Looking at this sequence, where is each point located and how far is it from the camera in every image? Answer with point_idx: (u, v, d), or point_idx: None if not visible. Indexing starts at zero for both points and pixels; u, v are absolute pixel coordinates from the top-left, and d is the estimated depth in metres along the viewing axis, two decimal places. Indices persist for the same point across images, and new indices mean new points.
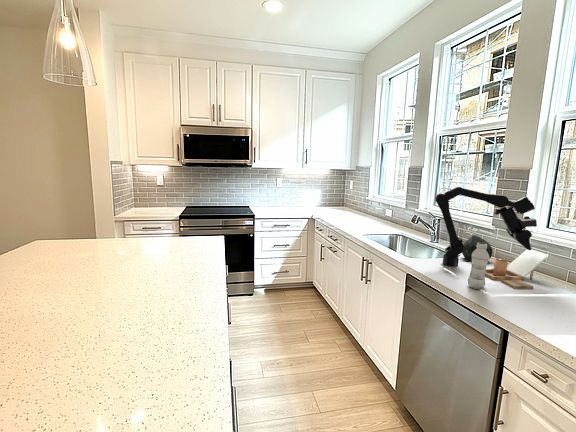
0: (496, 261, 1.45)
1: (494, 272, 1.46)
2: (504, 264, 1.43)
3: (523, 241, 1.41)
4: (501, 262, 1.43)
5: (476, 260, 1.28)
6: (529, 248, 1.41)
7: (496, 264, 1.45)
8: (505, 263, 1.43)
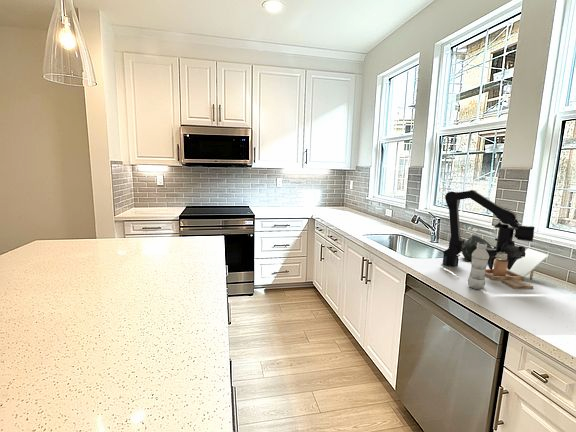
0: (496, 261, 1.45)
1: (494, 272, 1.46)
2: (504, 264, 1.43)
3: None
4: (501, 262, 1.43)
5: (476, 260, 1.28)
6: (490, 267, 1.45)
7: (496, 264, 1.45)
8: (505, 263, 1.43)
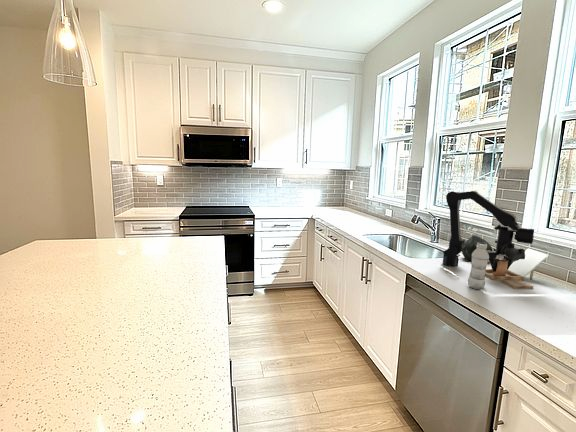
0: None
1: (494, 272, 1.46)
2: (504, 264, 1.43)
3: (492, 260, 1.46)
4: (501, 262, 1.43)
5: (476, 260, 1.28)
6: (493, 269, 1.46)
7: None
8: (505, 263, 1.43)
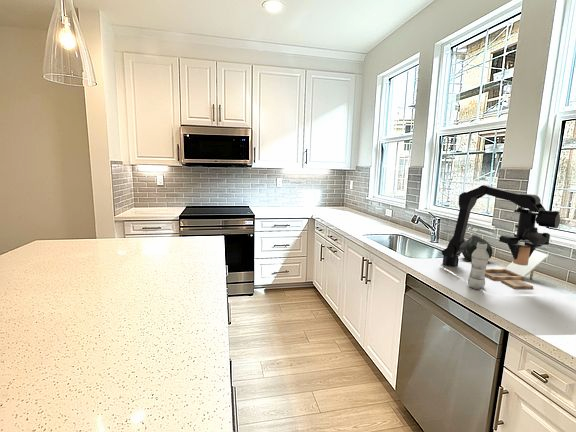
0: None
1: (515, 260, 1.33)
2: (526, 250, 1.30)
3: (512, 247, 1.33)
4: (523, 248, 1.30)
5: (476, 260, 1.28)
6: (514, 257, 1.33)
7: None
8: (527, 249, 1.30)
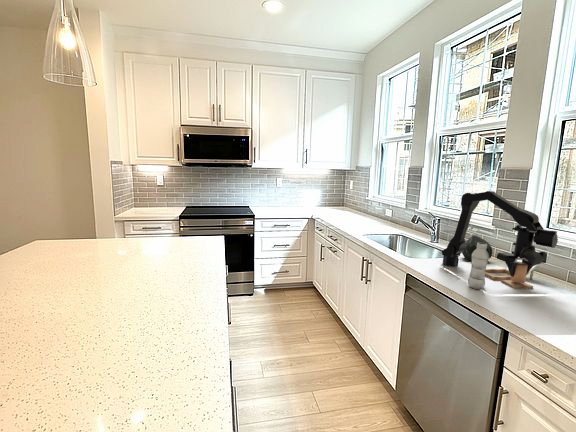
0: None
1: (512, 277, 1.34)
2: (523, 268, 1.31)
3: (510, 264, 1.34)
4: (520, 266, 1.31)
5: (476, 260, 1.28)
6: (511, 274, 1.34)
7: None
8: (525, 267, 1.31)
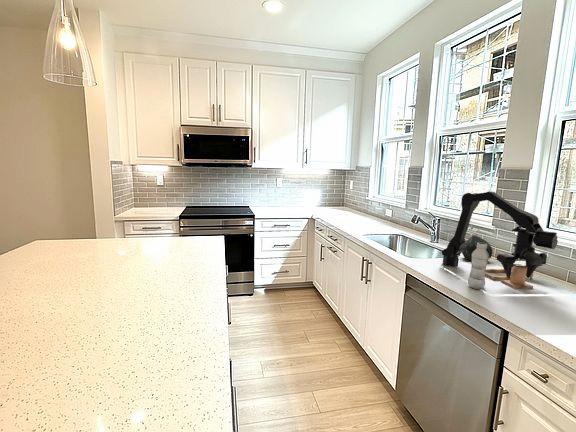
0: (514, 267, 1.33)
1: (512, 279, 1.34)
2: (523, 271, 1.31)
3: (506, 265, 1.34)
4: (520, 268, 1.31)
5: (476, 260, 1.28)
6: (507, 275, 1.34)
7: (514, 270, 1.33)
8: (524, 269, 1.31)
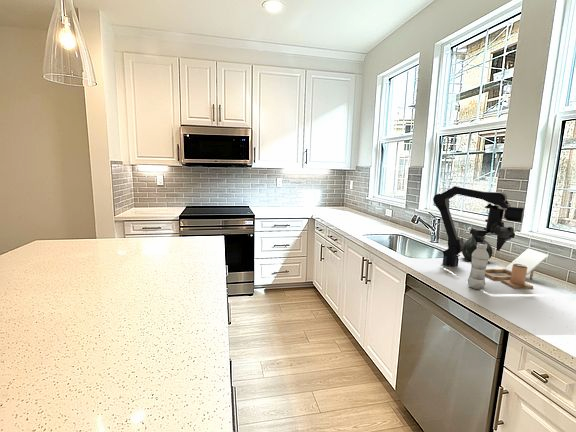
0: (514, 267, 1.33)
1: (512, 279, 1.34)
2: (523, 271, 1.31)
3: (478, 239, 1.47)
4: (520, 268, 1.31)
5: (476, 260, 1.28)
6: None
7: (514, 270, 1.33)
8: (524, 269, 1.31)
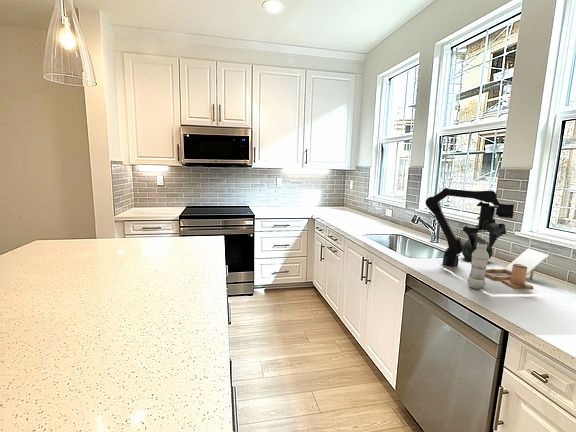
0: (514, 267, 1.33)
1: (512, 279, 1.34)
2: (523, 271, 1.31)
3: (471, 236, 1.50)
4: (520, 268, 1.31)
5: (476, 260, 1.28)
6: (472, 245, 1.51)
7: (514, 270, 1.33)
8: (524, 270, 1.31)
